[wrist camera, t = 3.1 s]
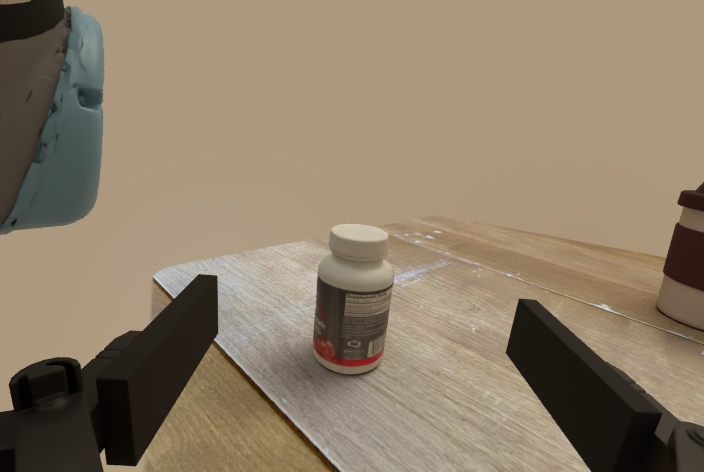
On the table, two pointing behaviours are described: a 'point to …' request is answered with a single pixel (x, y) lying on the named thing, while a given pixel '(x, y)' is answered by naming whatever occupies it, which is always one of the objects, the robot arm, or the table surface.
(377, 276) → the pill bottle
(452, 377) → the table surface
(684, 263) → the coffee cup
